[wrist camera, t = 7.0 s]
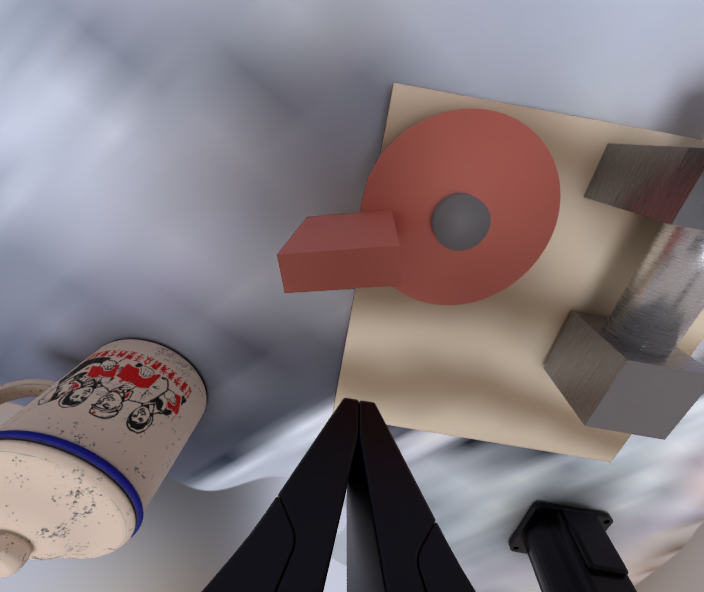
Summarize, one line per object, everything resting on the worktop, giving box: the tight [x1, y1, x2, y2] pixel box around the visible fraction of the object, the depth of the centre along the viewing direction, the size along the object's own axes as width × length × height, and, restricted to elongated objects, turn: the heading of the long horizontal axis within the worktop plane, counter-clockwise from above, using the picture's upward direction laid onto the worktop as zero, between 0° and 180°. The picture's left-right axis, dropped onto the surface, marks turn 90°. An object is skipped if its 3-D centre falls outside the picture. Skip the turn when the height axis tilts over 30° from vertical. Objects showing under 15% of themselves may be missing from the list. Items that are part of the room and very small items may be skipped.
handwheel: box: [277, 109, 561, 305], centre depth 14 cm, size 12×9×7 cm
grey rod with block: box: [543, 222, 704, 440], centre depth 15 cm, size 15×4×4 cm, turn 171°
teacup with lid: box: [0, 339, 207, 577], centre depth 20 cm, size 12×9×12 cm
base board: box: [333, 83, 704, 462], centre depth 20 cm, size 20×20×1 cm
